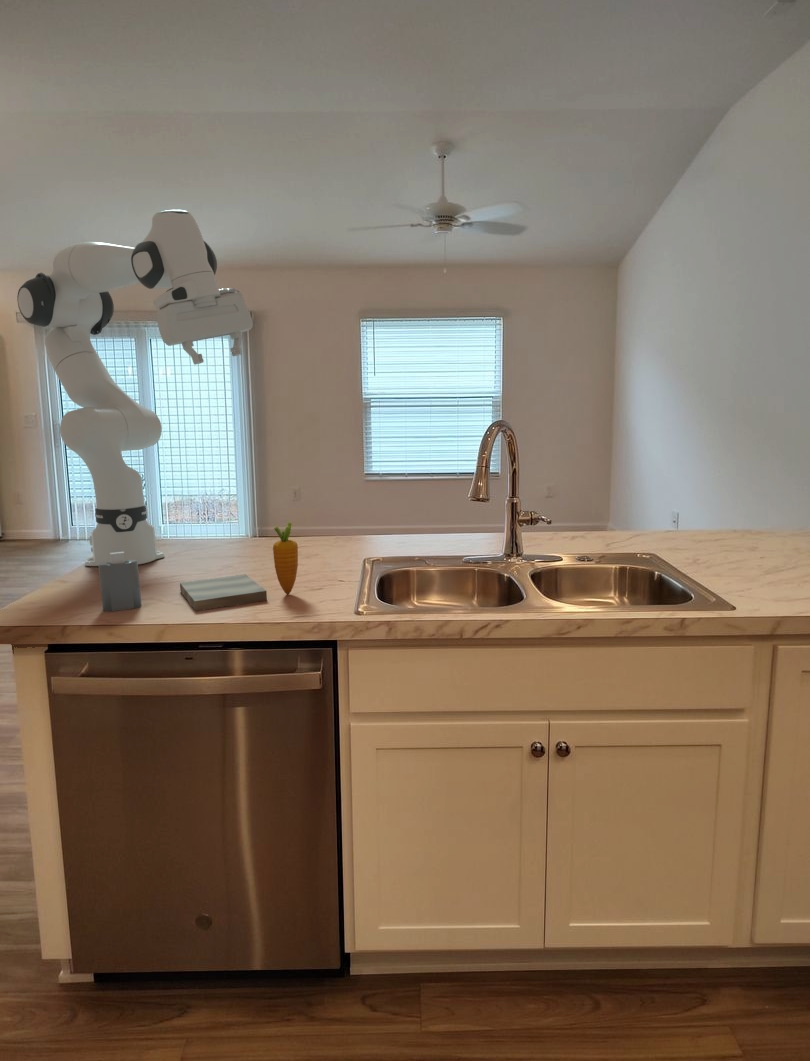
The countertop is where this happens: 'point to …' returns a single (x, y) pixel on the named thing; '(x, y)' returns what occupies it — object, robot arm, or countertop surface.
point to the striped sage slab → (222, 592)
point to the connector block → (119, 583)
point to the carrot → (285, 559)
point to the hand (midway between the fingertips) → (218, 359)
